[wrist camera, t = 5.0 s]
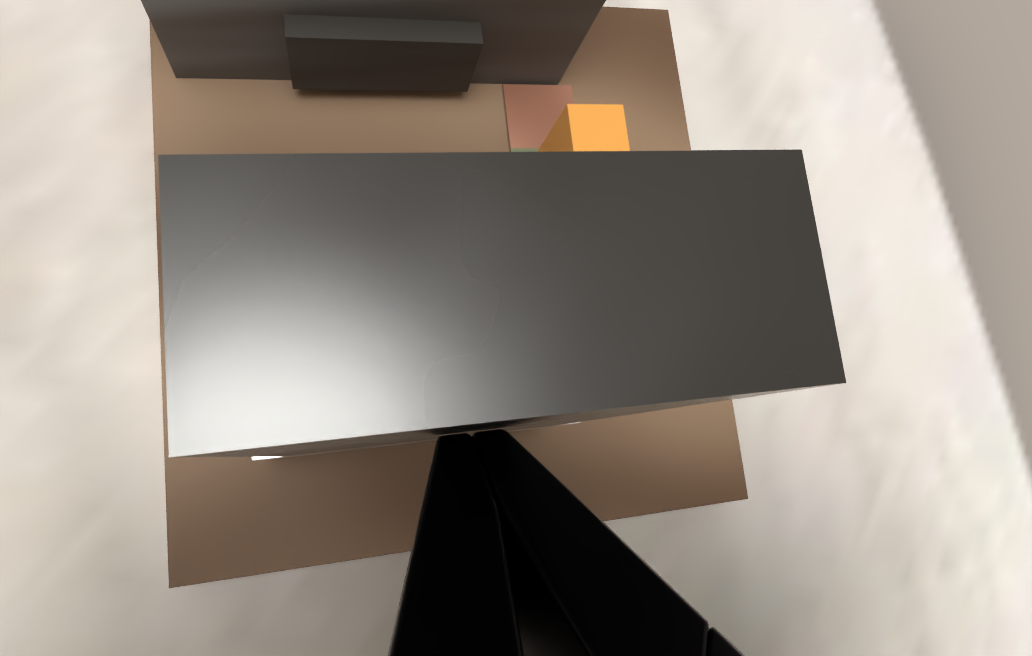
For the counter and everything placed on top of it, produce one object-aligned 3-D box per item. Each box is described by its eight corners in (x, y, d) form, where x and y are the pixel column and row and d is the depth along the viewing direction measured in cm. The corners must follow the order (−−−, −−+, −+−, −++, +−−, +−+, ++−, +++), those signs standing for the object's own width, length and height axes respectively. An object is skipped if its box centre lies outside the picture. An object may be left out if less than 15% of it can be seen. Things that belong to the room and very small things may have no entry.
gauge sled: (603, 420, 16) (1027, 362, 6) (267, 459, 14) (79, 468, 4) (572, 196, 17) (900, -181, 7) (252, 204, 15) (67, -298, 5)
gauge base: (716, 495, 18) (956, 521, 11) (186, 575, 15) (38, 685, 8) (645, 41, 20) (808, -186, 13) (164, 24, 17) (32, -292, 10)
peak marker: (581, 203, 17) (630, 150, 14) (533, 204, 16) (573, 151, 13) (575, 164, 17) (623, 104, 14) (528, 165, 16) (567, 103, 14)
